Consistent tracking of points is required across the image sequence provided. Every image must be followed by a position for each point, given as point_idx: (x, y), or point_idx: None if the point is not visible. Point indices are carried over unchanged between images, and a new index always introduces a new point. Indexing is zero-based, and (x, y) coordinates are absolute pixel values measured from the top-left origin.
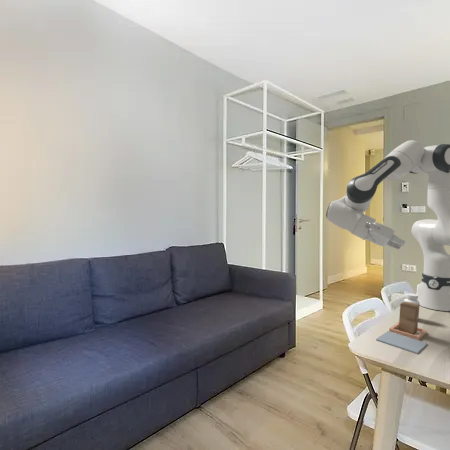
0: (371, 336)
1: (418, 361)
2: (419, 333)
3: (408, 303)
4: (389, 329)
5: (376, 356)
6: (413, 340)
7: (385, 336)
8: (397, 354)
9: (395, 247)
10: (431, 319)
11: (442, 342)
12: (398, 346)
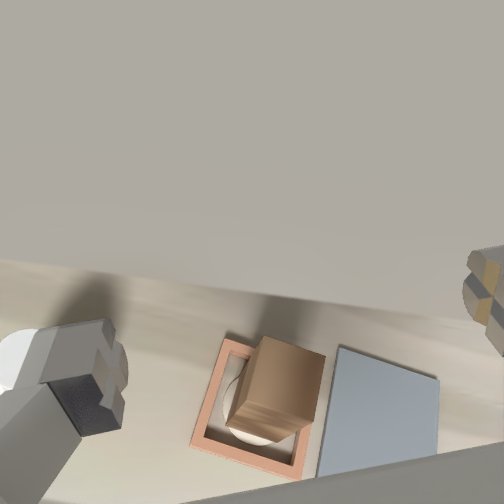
0: None
1: (478, 381)
2: None
3: (278, 382)
4: (299, 480)
5: None
6: (347, 388)
7: None
8: (481, 439)
9: (122, 411)
10: (21, 308)
11: (280, 303)
12: (437, 437)
